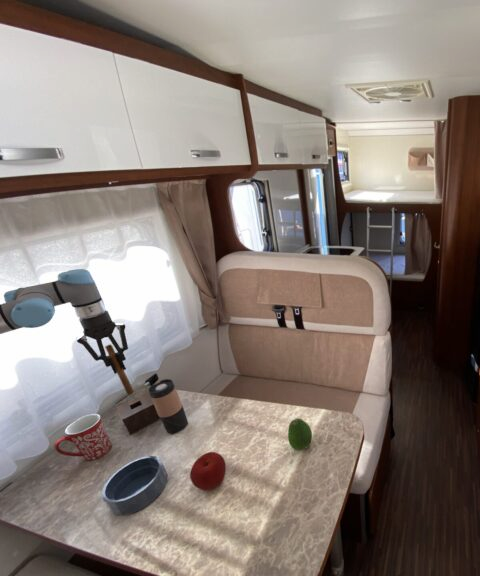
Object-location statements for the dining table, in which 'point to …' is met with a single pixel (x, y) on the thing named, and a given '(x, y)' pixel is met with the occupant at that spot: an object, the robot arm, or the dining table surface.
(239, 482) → the dining table surface
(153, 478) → the bowl
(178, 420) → the travel mug
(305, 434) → the fruit
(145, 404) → the holder
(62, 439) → the mug
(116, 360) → the stick
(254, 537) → the dining table surface
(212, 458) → the apple
